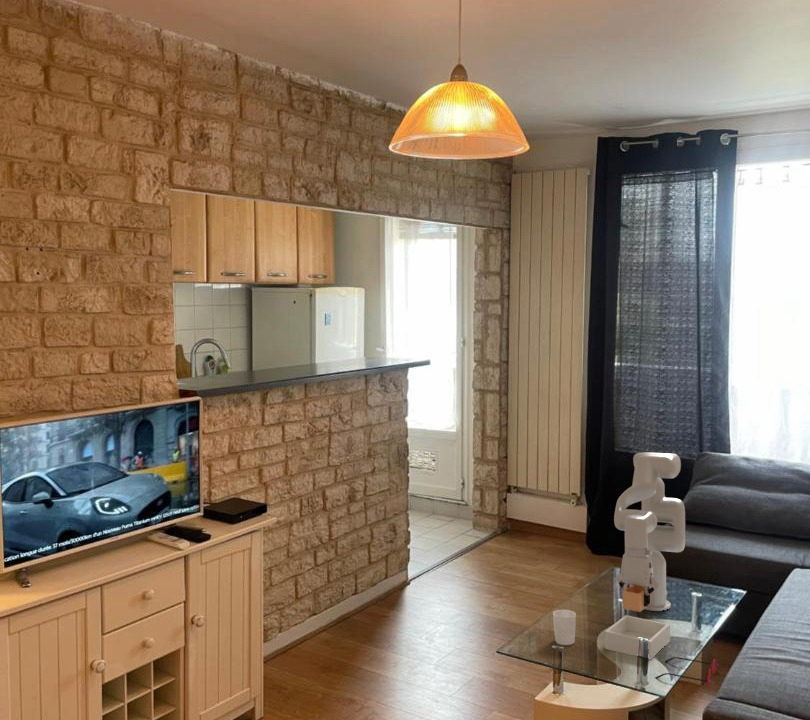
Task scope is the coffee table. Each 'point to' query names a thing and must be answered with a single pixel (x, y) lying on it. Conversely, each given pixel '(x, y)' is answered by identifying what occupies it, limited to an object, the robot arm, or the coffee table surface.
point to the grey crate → (636, 635)
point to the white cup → (564, 626)
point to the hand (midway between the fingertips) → (637, 603)
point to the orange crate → (634, 598)
